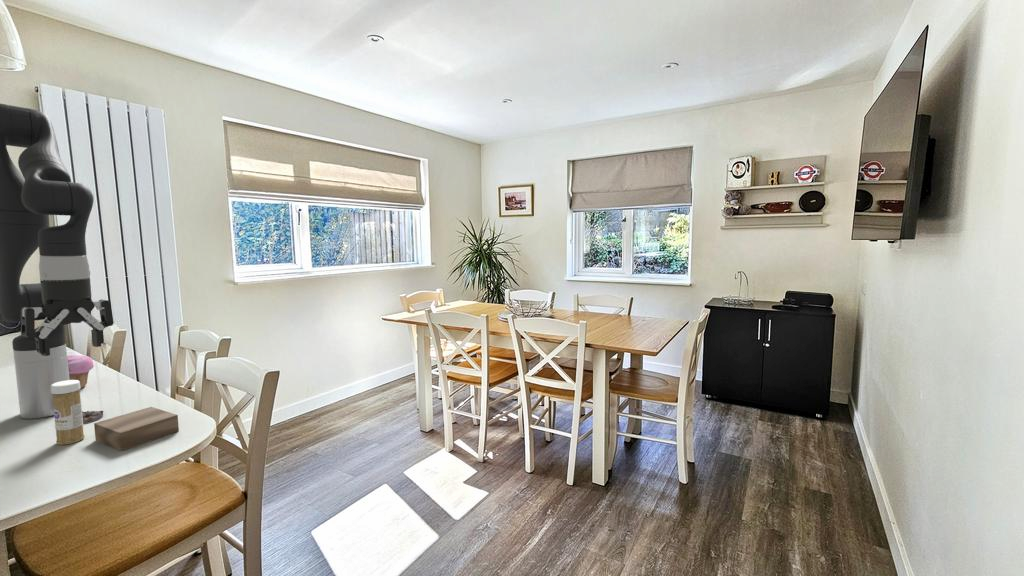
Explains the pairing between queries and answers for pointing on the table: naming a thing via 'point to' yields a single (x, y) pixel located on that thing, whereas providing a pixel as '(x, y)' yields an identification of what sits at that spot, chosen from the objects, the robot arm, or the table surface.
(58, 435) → the sprinkles bottle
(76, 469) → the table surface
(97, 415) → the donut
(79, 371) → the cupcake
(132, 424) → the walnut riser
